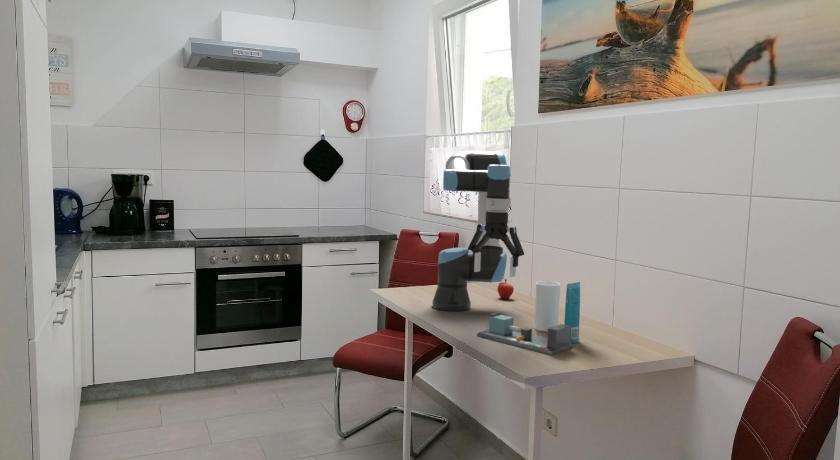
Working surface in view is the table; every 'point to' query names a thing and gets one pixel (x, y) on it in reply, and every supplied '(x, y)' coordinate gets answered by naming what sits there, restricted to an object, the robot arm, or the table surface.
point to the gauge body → (502, 324)
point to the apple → (505, 290)
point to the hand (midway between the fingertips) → (494, 274)
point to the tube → (573, 310)
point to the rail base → (536, 340)
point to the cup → (546, 305)
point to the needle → (525, 334)
